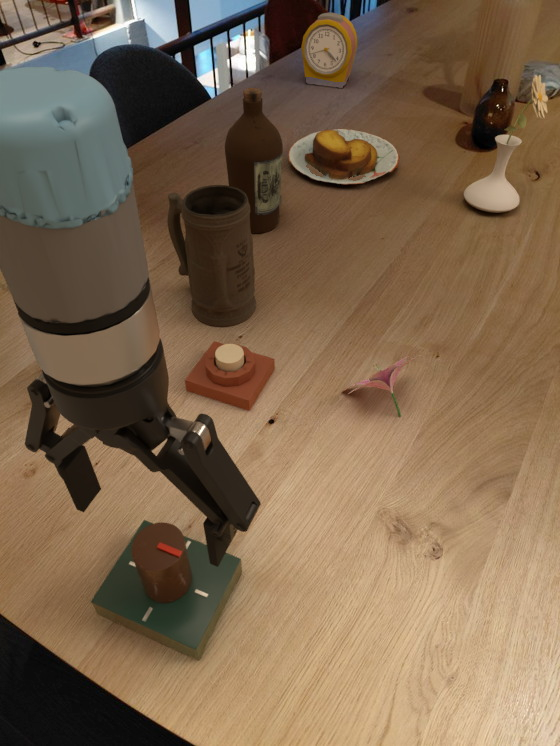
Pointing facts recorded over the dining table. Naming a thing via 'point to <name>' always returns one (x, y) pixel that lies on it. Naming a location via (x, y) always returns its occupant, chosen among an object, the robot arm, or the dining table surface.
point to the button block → (230, 378)
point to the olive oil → (256, 162)
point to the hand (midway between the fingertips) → (152, 524)
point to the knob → (162, 562)
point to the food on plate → (343, 156)
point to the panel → (175, 619)
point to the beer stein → (215, 252)
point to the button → (229, 357)
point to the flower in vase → (505, 163)
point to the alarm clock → (329, 48)
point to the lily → (384, 378)
